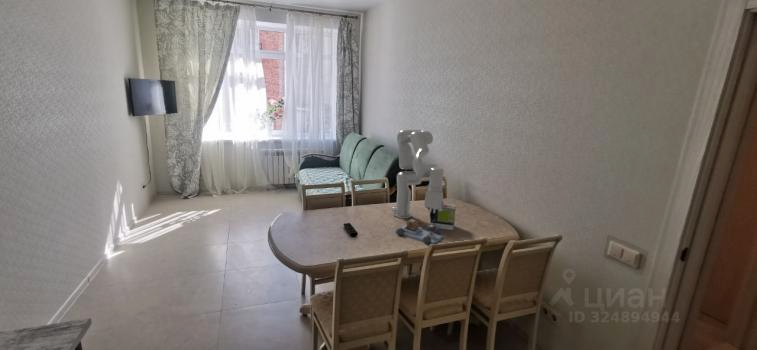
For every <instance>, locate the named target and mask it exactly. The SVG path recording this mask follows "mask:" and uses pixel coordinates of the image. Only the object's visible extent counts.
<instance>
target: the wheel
mask: <svg viewBox="0 0 757 350" xmlns="http://www.w3.org/2000/svg"><path fill="white" fill-rule="evenodd" d="M436 229H437V228H436V226H435V225H430V224H428V225H427V226H426V231H428V232H430V234H432V233H434V231H436Z"/></svg>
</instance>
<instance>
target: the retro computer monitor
mask: <svg viewBox="0 0 757 350" xmlns="http://www.w3.org/2000/svg"><path fill="white" fill-rule="evenodd" d="M456 209H457V204H452V203H445V202H443V207H442V211H437V212H436V217H435V219H433V220H432V219H429V220H430V222H429V223H430V224H429V225H435V226H436V229H437V228H438V229H440V230H446V231H454V228H455V221H456ZM433 210H434V209H433Z"/></svg>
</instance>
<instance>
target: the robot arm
mask: <svg viewBox="0 0 757 350" xmlns="http://www.w3.org/2000/svg"><path fill="white" fill-rule="evenodd" d="M433 137H434V136H433V134H432V133H431V132H430V131H429V130H424V129H423V130H422V129H402V130H400V131H399V132H398V133H397V137H396V140H397V141H396V143H397V145H398V167H399V169H401V170H403V171H400V172H398V173H397V174H396V186H397V187H396V188H397V189H396V190H397V193H396V206H392V207H391V211H393V217H395V218H397V219H405V220H406V219H410V218H411V217H412V213H411V212H410V210H411V199H412V198H411V197H412V191H411V189H410V187H409V186H417V185H420V184H422V182H423V178H428V179H429V180H428V181H429V182H428V184H427V185H426V188H428V189H427V190H426V192H425V197H424V204H423V205H424V208H426V209H428V211H429V217H430V218H429V220H431V219H432V220H433V219H435V217H436V212H437V211H442V207H443V203H444V193H443V191H442V190H443V182H444V169H443V168H442V167H440V166H439V165H437V164H428V163H427V164H423V160H422V158H424V157H426V156H427V155H428V154H429V153H430V148H429V146H428V145H431V144H432V143H433V141H434V139H433ZM410 143H411V145H412V147H411V145H410ZM412 148H413V149H412ZM412 150H414V153H415V154H413V153H412V152H413V151H412ZM404 170H407V171H404ZM408 170H409V171H408ZM433 209H434V210H433Z"/></svg>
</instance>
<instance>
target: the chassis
mask: <svg viewBox="0 0 757 350" xmlns="http://www.w3.org/2000/svg"><path fill="white" fill-rule="evenodd" d="M406 227H407V224H404V225H402V226H401V227H398V228H397V229H395V232H394V233H396V234H397V235H398V236H406V237H408V238H411V239H415V240H417V241H419V242H420V241H421V242H423V243H424V244H426V245H428V244H430V245H433V244H434V243H435V244H436V243H438V242H439V241H441V240H442V239H443V235H442V229H439V228H436V231H433V233H432V234H430V231H428V230H424V229H423V228H422V227H421V226H418V228H417V231H415V232H413V231H410V230H407V229H406ZM435 244H434V245H435Z"/></svg>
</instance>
